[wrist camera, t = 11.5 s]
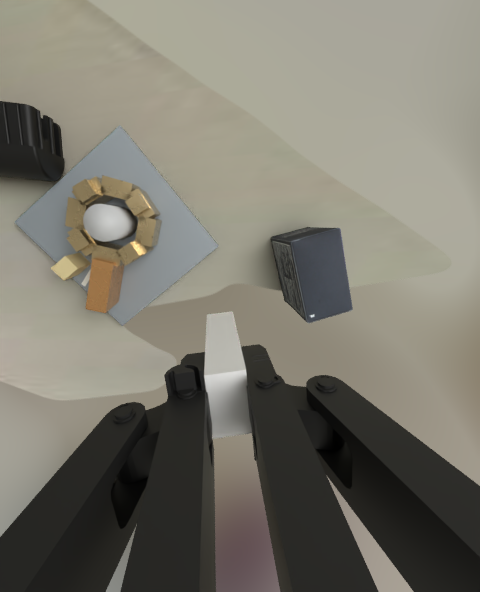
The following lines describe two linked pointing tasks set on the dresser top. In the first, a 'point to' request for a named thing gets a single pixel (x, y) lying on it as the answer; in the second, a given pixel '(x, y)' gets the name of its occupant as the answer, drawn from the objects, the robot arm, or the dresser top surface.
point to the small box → (313, 272)
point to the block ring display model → (120, 226)
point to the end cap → (29, 144)
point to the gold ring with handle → (104, 254)
